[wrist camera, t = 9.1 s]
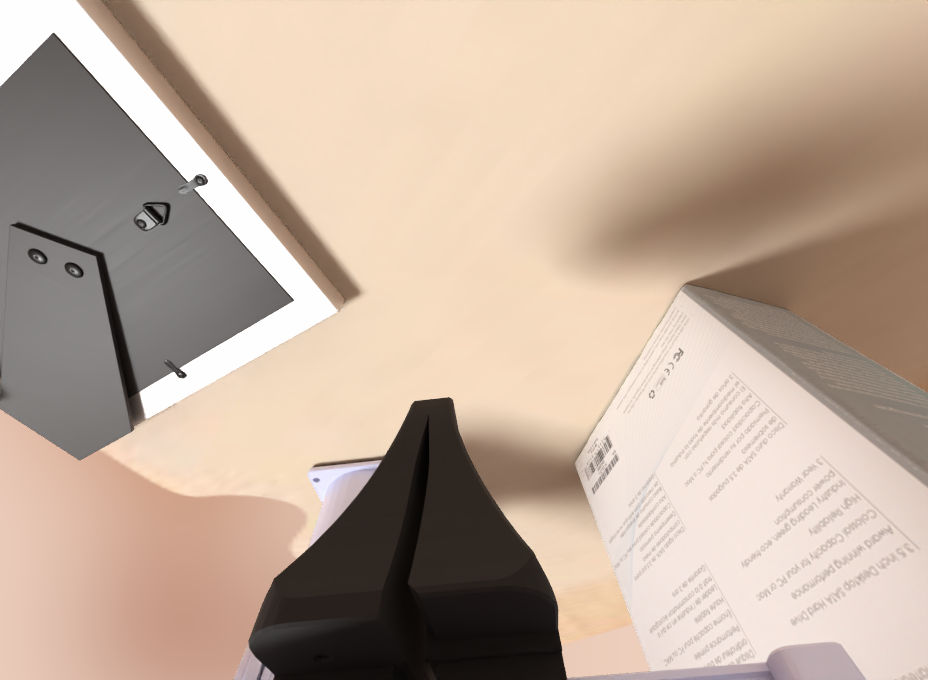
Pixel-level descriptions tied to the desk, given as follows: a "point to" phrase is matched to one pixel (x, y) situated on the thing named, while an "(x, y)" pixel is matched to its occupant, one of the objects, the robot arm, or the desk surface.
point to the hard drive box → (764, 493)
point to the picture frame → (124, 236)
